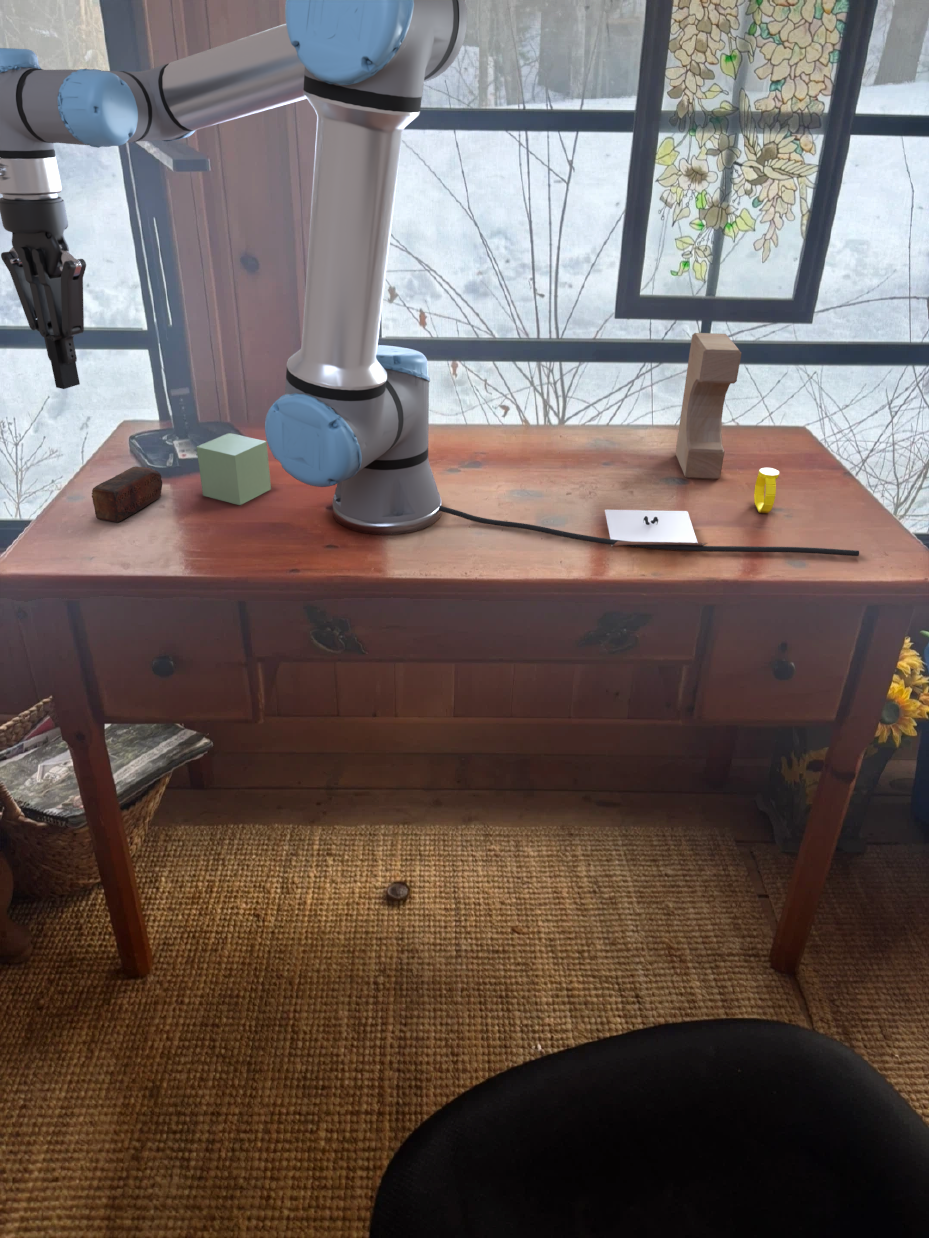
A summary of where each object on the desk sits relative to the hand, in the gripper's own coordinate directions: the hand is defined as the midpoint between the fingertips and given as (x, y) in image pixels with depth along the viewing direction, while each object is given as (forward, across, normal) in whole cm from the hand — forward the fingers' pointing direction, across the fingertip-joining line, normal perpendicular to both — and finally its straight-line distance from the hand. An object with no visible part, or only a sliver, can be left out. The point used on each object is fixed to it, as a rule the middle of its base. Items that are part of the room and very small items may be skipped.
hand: (68, 385), depth 124 cm
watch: (+16, +86, +46) cm, 99 cm away
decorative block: (+16, +73, +58) cm, 95 cm away
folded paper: (+16, +75, +29) cm, 82 cm away
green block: (+16, +17, +12) cm, 26 cm away
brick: (+16, +8, 0) cm, 18 cm away
